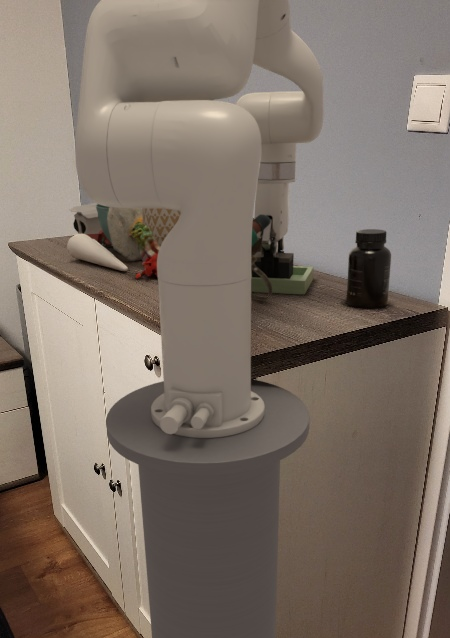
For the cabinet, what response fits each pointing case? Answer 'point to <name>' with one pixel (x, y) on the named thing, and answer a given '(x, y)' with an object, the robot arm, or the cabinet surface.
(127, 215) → the fossil
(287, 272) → the back pad
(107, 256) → the long cone
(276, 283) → the rectangular tray
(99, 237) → the dental model
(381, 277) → the supplement bottle
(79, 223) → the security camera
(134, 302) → the cabinet surface
